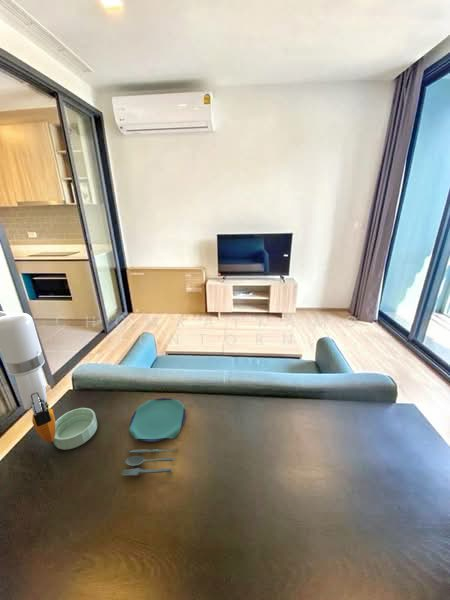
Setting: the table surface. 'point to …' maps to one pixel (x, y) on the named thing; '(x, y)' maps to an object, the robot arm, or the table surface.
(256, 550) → the table surface
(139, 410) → the cutlery set
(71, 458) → the table surface
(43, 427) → the carrot
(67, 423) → the bowl
